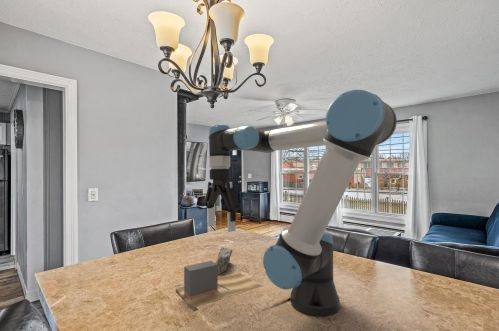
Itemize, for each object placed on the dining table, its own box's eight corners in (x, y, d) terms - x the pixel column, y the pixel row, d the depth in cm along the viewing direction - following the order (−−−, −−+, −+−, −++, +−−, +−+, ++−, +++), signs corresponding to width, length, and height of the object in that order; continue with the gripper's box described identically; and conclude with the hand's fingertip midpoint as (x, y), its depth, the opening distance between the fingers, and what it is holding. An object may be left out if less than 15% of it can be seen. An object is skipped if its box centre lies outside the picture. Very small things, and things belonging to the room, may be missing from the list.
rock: (223, 278, 102) (226, 251, 104) (204, 275, 104) (206, 249, 106) (235, 271, 117) (237, 247, 118) (218, 268, 119) (220, 245, 121)
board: (262, 288, 93) (262, 285, 93) (194, 310, 78) (194, 307, 78) (238, 274, 107) (238, 271, 107) (175, 291, 92) (175, 288, 92)
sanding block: (210, 286, 93) (210, 260, 94) (217, 291, 89) (217, 264, 89) (184, 293, 88) (184, 266, 88) (189, 299, 83) (190, 271, 84)
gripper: (249, 167, 86) (250, 232, 85) (211, 169, 106) (212, 222, 105) (230, 166, 81) (231, 235, 80) (194, 169, 101) (195, 224, 100)
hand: (220, 228), depth 92 cm, fingers open, 13 cm apart
